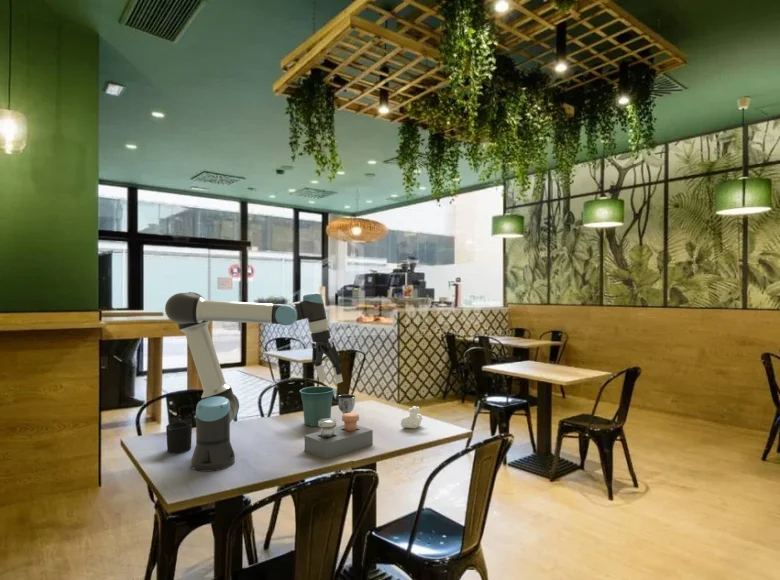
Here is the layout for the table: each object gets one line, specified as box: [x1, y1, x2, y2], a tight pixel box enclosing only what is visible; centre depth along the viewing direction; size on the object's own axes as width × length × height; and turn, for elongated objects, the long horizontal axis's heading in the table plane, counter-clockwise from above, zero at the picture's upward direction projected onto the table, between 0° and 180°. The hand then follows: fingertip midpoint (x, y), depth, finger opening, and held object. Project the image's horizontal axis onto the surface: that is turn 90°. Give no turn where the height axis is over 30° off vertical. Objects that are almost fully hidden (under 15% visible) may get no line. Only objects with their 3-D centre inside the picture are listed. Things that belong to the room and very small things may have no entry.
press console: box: [304, 424, 374, 460], centre depth 193 cm, size 24×14×6 cm, turn 135°
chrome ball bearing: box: [318, 417, 337, 439], centre depth 189 cm, size 7×7×7 cm
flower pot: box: [299, 385, 335, 428], centre depth 227 cm, size 16×16×16 cm
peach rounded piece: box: [341, 412, 360, 433], centre depth 198 cm, size 7×7×7 cm
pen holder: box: [165, 421, 193, 454], centre depth 190 cm, size 9×9×10 cm
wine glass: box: [337, 393, 356, 414], centre depth 218 cm, size 8×8×15 cm
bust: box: [400, 405, 423, 429], centre depth 220 cm, size 12×8×11 cm
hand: (330, 381), depth 194 cm, fingers open, 13 cm apart
